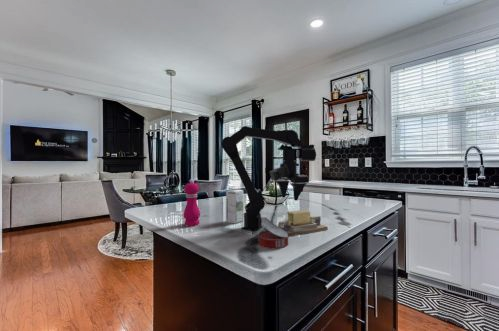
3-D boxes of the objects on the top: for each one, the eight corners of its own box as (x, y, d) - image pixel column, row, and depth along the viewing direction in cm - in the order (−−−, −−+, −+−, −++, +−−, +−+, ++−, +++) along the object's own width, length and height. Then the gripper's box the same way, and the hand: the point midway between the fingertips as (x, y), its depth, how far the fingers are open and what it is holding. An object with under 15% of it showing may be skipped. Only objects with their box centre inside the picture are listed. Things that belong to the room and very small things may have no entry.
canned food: (271, 251, 86) (278, 224, 90) (291, 257, 78) (299, 227, 81) (246, 242, 81) (256, 213, 84) (265, 247, 73) (275, 215, 76)
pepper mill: (203, 223, 108) (203, 178, 108) (191, 227, 102) (191, 179, 102) (192, 221, 112) (191, 178, 112) (180, 225, 106) (179, 179, 106)
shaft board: (270, 230, 97) (270, 218, 97) (311, 224, 105) (311, 213, 105) (284, 236, 88) (284, 224, 88) (327, 229, 96) (327, 218, 96)
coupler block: (287, 226, 97) (287, 211, 97) (303, 224, 100) (303, 210, 100) (293, 229, 93) (293, 213, 93) (310, 226, 96) (310, 211, 96)
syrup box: (234, 219, 115) (233, 189, 115) (243, 221, 112) (243, 189, 112) (226, 222, 111) (225, 190, 110) (236, 224, 107) (235, 191, 107)
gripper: (262, 161, 106) (262, 196, 106) (284, 160, 89) (284, 203, 89) (284, 161, 110) (284, 195, 110) (309, 160, 93) (309, 201, 93)
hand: (289, 198), depth 101 cm, fingers open, 9 cm apart
